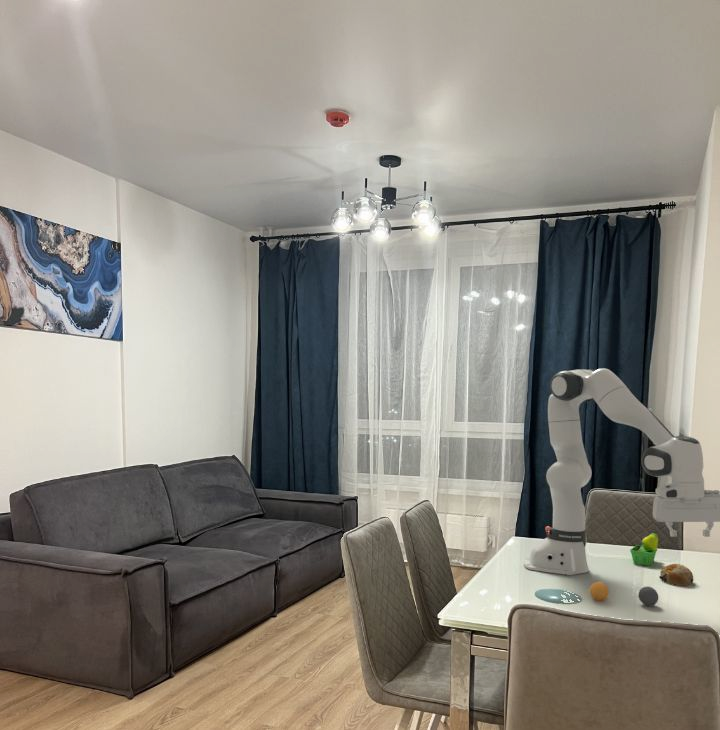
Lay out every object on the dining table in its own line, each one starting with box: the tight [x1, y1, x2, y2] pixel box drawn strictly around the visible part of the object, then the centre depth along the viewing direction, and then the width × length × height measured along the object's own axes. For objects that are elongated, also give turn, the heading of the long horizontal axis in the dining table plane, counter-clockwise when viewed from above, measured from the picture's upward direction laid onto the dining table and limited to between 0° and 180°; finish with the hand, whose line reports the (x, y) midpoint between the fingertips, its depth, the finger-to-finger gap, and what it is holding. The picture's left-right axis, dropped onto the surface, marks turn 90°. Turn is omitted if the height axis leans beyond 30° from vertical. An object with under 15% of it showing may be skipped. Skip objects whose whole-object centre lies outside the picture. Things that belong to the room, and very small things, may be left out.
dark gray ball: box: [638, 586, 659, 607], centre depth 200 cm, size 6×6×6 cm
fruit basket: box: [629, 532, 659, 566], centre depth 250 cm, size 11×9×11 cm
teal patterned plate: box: [534, 588, 583, 604], centre depth 206 cm, size 14×14×1 cm
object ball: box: [589, 581, 610, 602], centre depth 203 cm, size 6×6×6 cm
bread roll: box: [659, 563, 694, 587], centre depth 225 cm, size 10×10×8 cm
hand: (689, 536), depth 201 cm, fingers open, 8 cm apart
